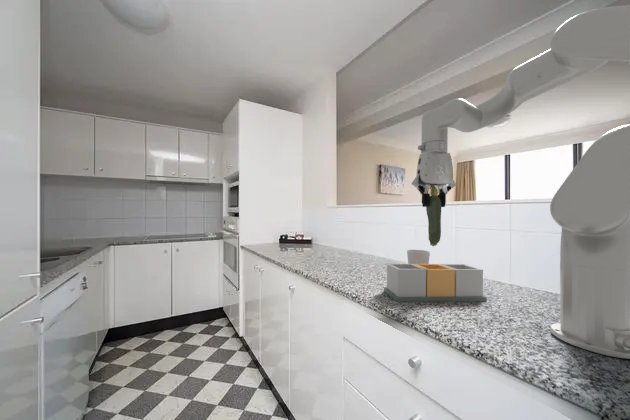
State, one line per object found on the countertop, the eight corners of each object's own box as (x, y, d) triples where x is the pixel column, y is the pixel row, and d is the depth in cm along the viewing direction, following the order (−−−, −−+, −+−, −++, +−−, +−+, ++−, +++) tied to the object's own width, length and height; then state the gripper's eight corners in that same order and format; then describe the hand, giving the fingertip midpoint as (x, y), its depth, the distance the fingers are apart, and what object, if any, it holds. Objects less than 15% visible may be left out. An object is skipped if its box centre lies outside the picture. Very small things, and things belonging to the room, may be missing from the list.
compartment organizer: (486, 301, 73) (486, 270, 73) (396, 301, 71) (396, 269, 71) (463, 290, 83) (463, 263, 83) (383, 291, 81) (384, 263, 81)
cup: (425, 280, 96) (425, 250, 96) (432, 286, 88) (433, 253, 88) (404, 279, 97) (404, 249, 97) (410, 285, 89) (410, 252, 89)
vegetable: (443, 247, 75) (444, 182, 76) (429, 247, 75) (430, 182, 76) (436, 245, 80) (437, 184, 80) (423, 245, 80) (424, 184, 80)
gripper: (414, 145, 74) (413, 205, 73) (467, 147, 75) (466, 207, 75) (403, 151, 81) (402, 206, 81) (451, 154, 83) (451, 207, 82)
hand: (433, 206), depth 78 cm, fingers closed on vegetable, 4 cm apart
